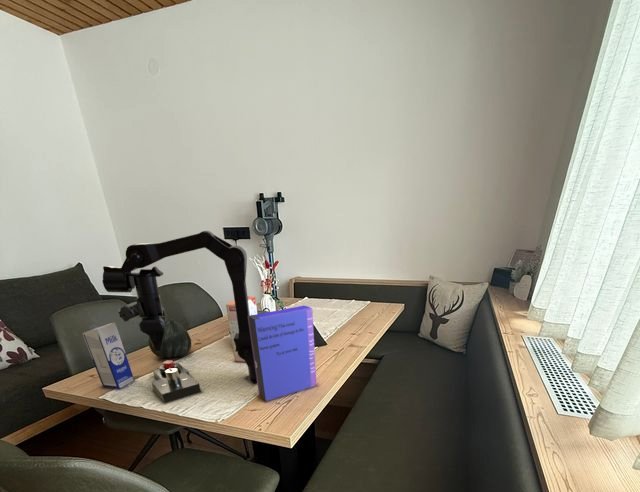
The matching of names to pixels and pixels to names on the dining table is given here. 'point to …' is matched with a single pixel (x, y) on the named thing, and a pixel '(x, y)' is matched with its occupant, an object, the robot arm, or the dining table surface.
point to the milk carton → (108, 356)
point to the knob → (172, 376)
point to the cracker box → (234, 323)
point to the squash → (173, 341)
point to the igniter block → (161, 371)
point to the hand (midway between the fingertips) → (158, 345)
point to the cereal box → (283, 351)
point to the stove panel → (176, 388)
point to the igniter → (168, 364)
